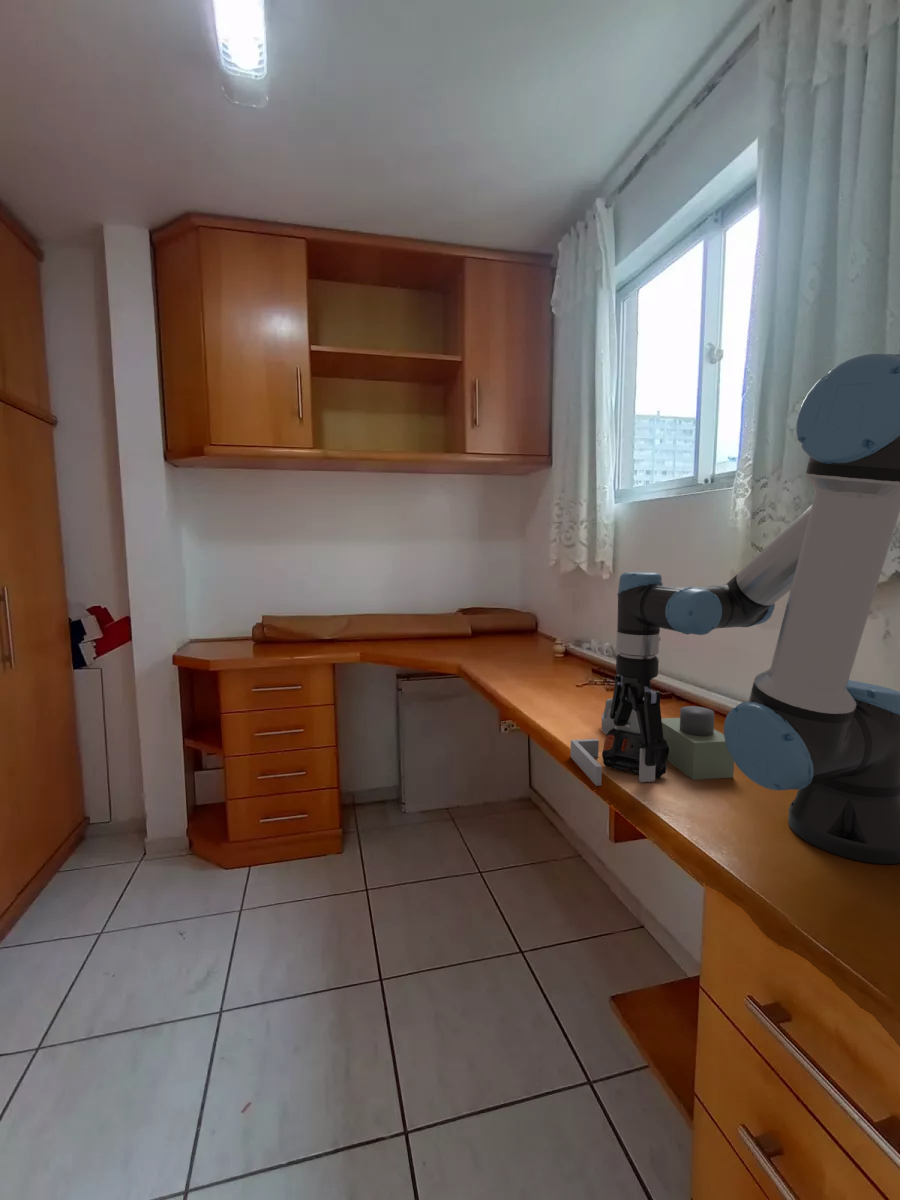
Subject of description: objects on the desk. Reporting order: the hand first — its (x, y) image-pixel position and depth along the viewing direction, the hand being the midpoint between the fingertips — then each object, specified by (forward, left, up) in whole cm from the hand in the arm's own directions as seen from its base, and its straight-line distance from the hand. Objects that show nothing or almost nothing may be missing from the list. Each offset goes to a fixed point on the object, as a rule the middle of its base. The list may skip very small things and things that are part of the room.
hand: (633, 768), depth 105 cm
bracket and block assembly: (+1, -4, 0) cm, 4 cm away
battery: (0, 0, -1) cm, 1 cm away
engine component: (+21, -8, -1) cm, 23 cm away
